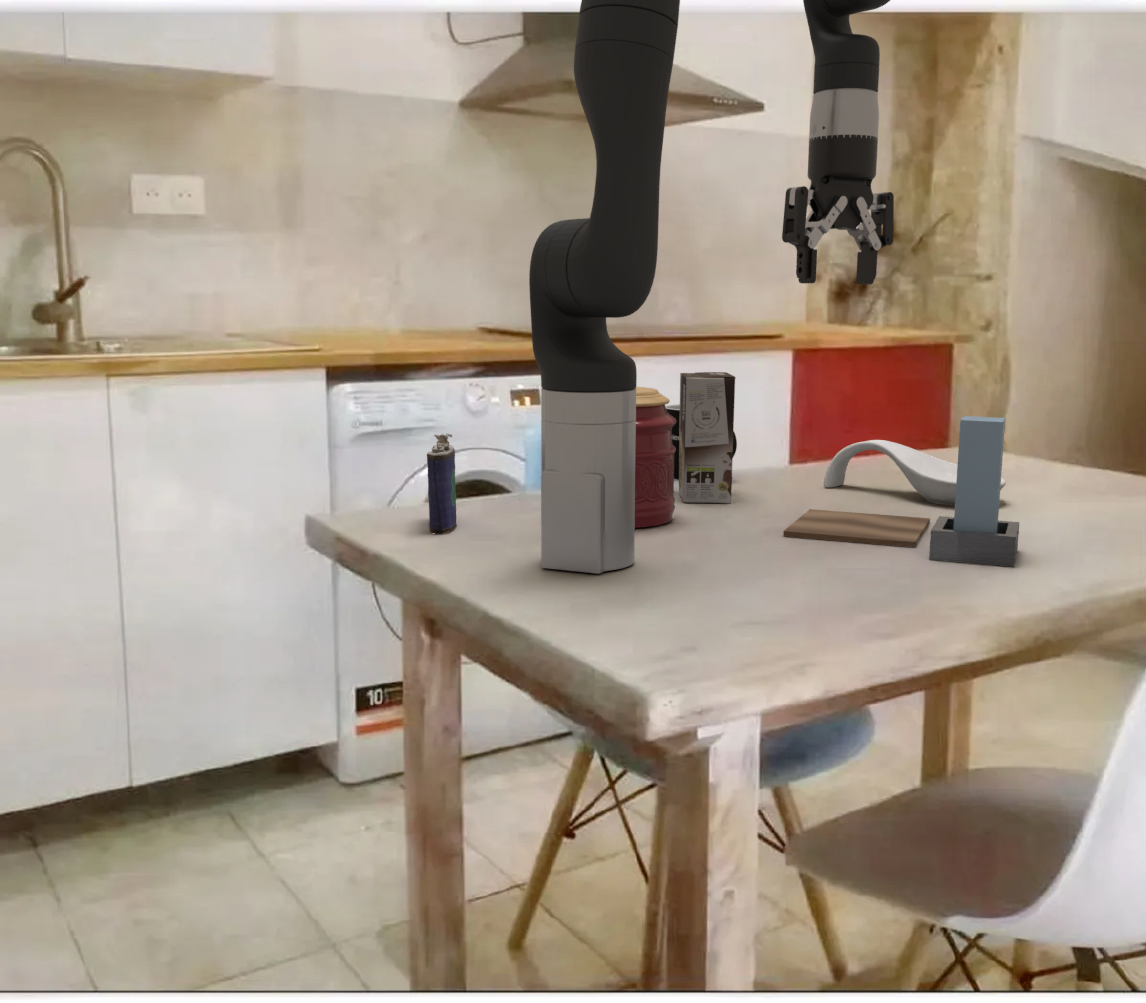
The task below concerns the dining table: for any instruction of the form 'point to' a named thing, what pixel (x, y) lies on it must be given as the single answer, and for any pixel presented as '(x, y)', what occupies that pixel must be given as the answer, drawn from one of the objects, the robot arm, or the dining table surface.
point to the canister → (653, 459)
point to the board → (859, 528)
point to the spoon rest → (904, 469)
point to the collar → (974, 544)
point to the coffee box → (706, 436)
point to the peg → (979, 474)
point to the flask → (442, 486)
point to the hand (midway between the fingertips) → (836, 283)
